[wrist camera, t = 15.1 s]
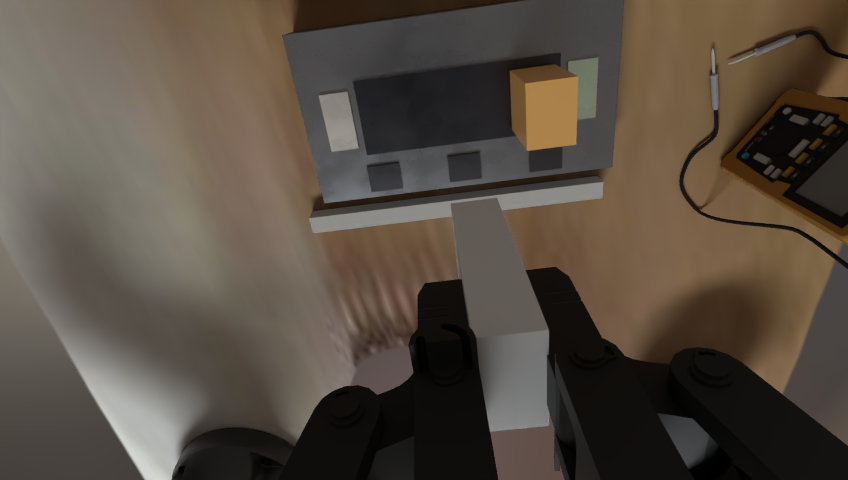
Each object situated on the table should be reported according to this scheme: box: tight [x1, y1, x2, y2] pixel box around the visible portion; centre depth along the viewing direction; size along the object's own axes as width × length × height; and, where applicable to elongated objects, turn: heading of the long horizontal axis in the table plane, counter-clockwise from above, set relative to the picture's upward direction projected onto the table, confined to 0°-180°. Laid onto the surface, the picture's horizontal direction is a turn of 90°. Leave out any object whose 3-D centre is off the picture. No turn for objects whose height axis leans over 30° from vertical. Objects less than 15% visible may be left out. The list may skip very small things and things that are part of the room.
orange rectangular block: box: [510, 64, 578, 151], centre depth 29 cm, size 3×4×5 cm
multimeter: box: [680, 30, 848, 269], centre depth 27 cm, size 15×10×20 cm
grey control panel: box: [282, 0, 624, 203], centre depth 34 cm, size 22×12×3 cm, turn 97°
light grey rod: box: [309, 176, 603, 233], centre depth 38 cm, size 24×1×1 cm, turn 97°
